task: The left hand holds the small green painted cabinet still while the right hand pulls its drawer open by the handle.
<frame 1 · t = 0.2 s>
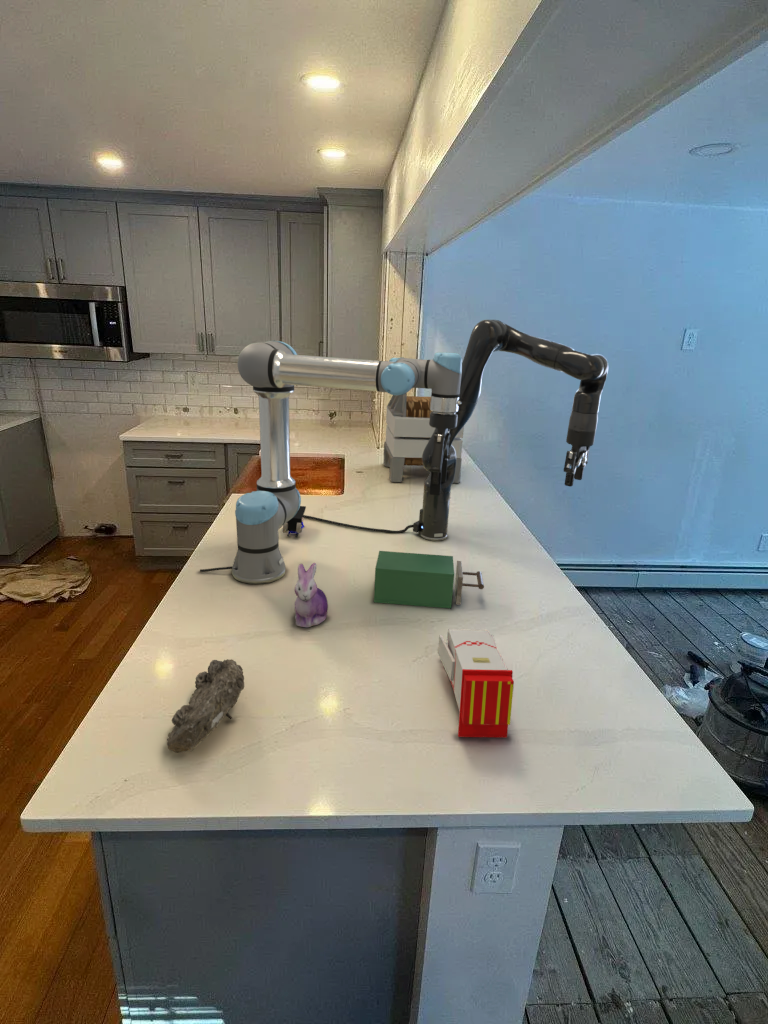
left hand: (438, 487, 160), 28 cm above the counter, tool pointing down, fingers open, 13 cm apart
right hand: (573, 482, 165), 29 cm above the counter, tool pointing down, fingers open, 8 cm apart
toy: (469, 691, 119), on the counter
figurine character: (294, 531, 198), on the counter
figurine: (310, 619, 143), on the counter
drawer: (436, 580, 155), point 5 cm above the counter, slide at 1.2 cm
cabinet: (413, 595, 158), on the counter
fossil: (212, 717, 108), on the counter
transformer: (419, 473, 275), on the counter
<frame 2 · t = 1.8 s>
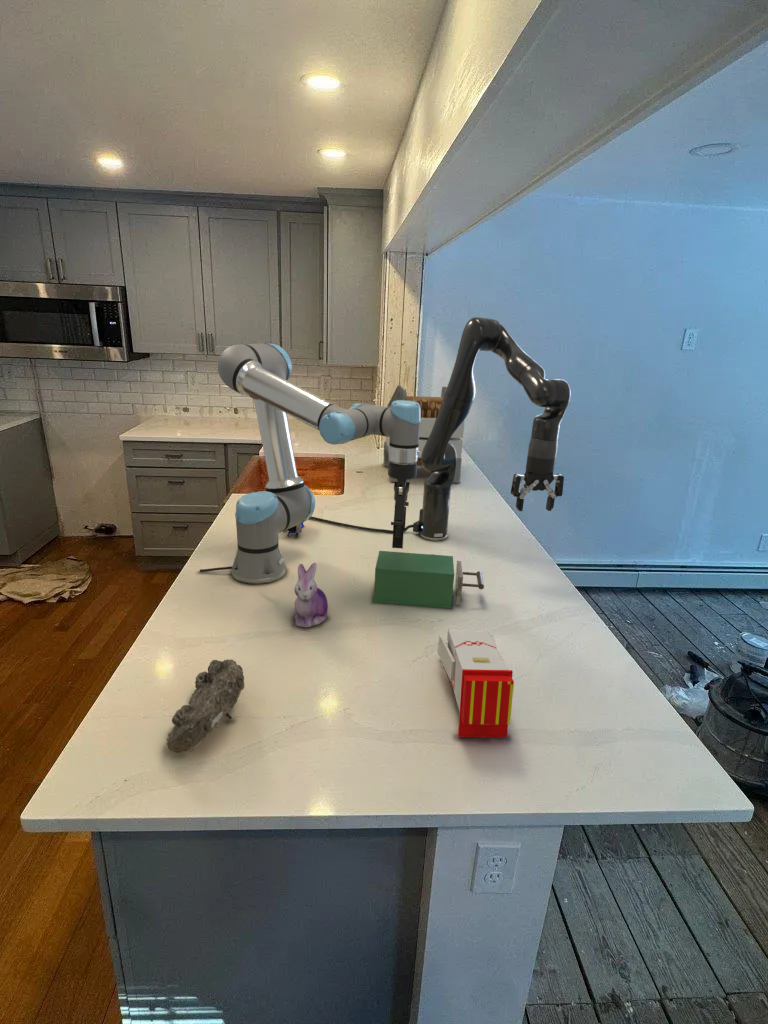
left hand: (398, 537, 154), 16 cm above the counter, tool pointing down, fingers open, 13 cm apart
right hand: (534, 510, 160), 23 cm above the counter, tool pointing down, fingers open, 8 cm apart
nothing on the counter moved.
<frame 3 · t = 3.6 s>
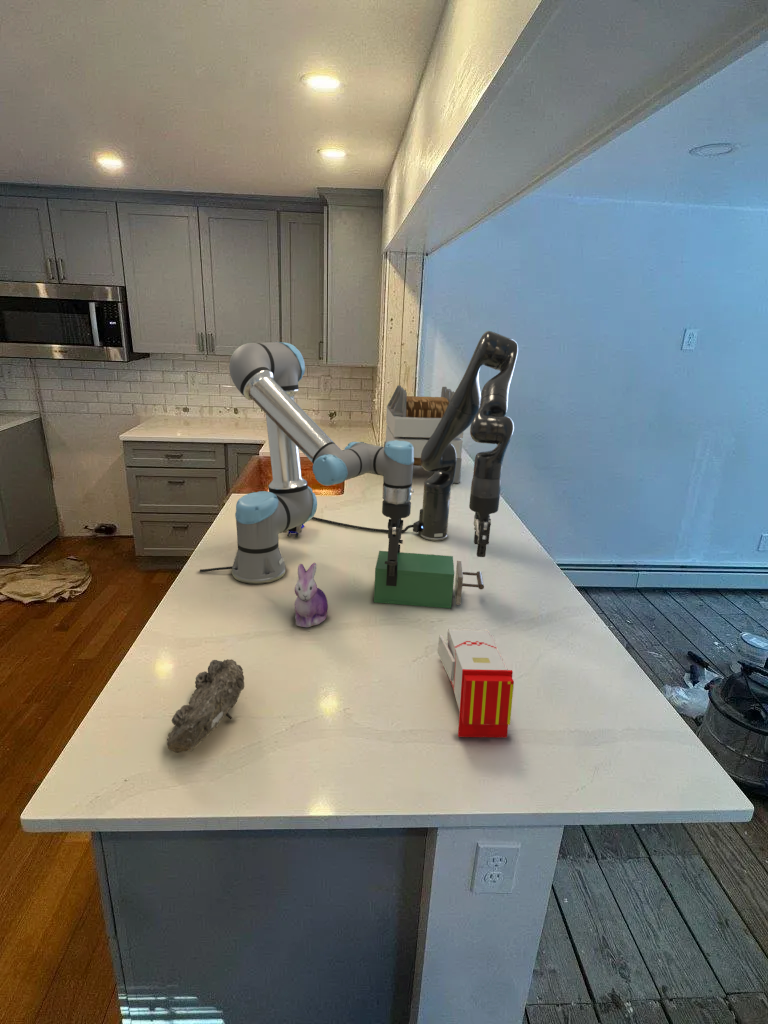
left hand: (392, 575, 156), 6 cm above the counter, tool pointing down, fingers closed on cabinet, 12 cm apart
right hand: (479, 550, 152), 15 cm above the counter, tool pointing down, fingers open, 8 cm apart
cabinet: (413, 595, 158), on the counter, touching left hand
everything else where it was.
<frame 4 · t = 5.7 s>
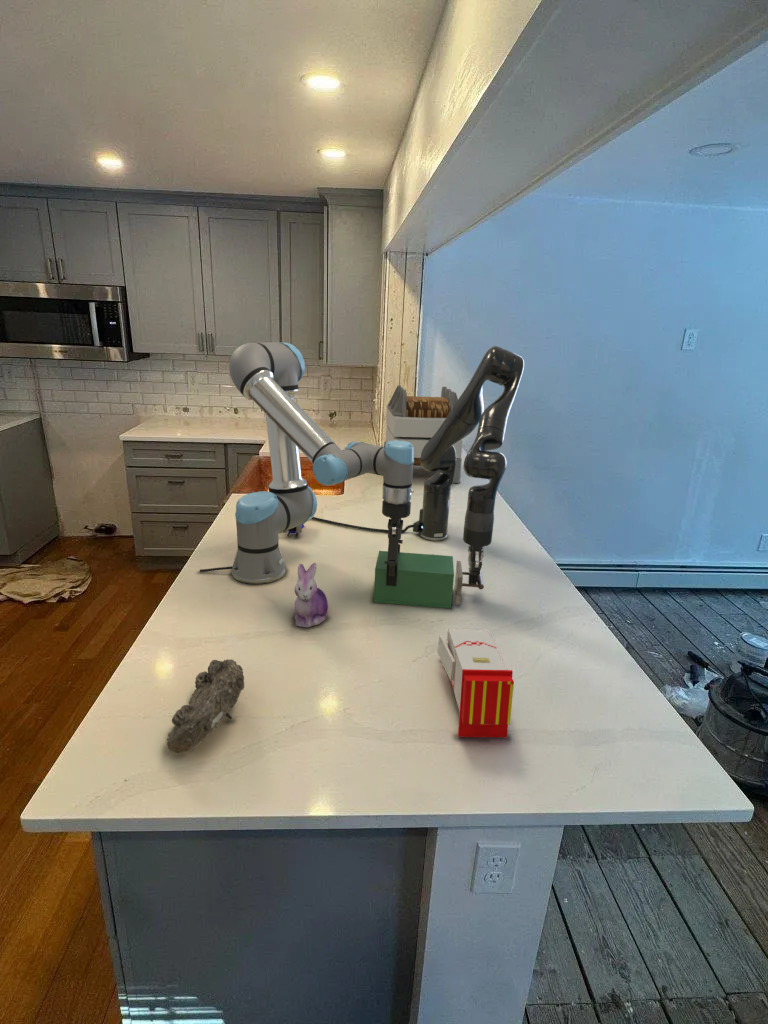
left hand: (392, 575, 156), 6 cm above the counter, tool pointing down, fingers closed on cabinet, 12 cm apart
right hand: (472, 584, 155), 5 cm above the counter, tool pointing down, fingers closed
drawer: (435, 580, 155), point 5 cm above the counter, slide at 1.2 cm, touching right hand
cabinet: (412, 595, 158), on the counter, touching left hand
everything else where it was.
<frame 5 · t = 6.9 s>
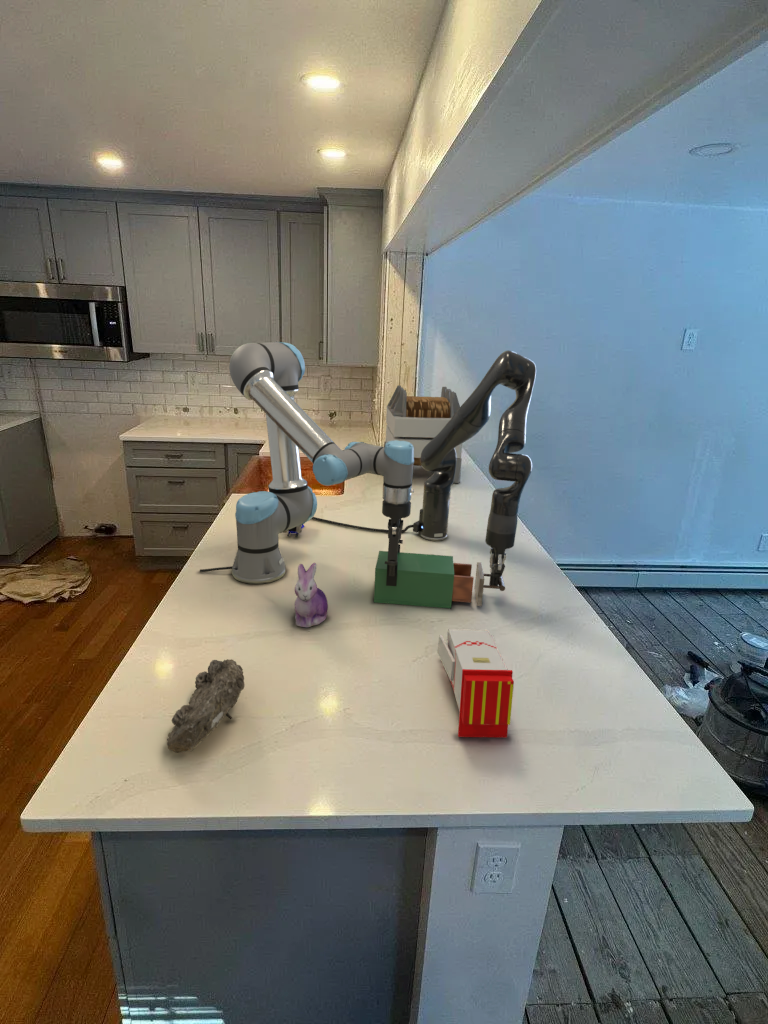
left hand: (392, 575, 156), 6 cm above the counter, tool pointing down, fingers closed on cabinet, 12 cm apart
right hand: (493, 586, 155), 5 cm above the counter, tool pointing down, fingers closed
drawer: (456, 582, 155), point 5 cm above the counter, slide at 6.8 cm, touching right hand
cabinet: (413, 595, 158), on the counter, touching left hand
everything else where it was.
when the left hand's fingers open (6 cm above the counter, at t = 8.7 s): cabinet stays where it is, on the counter.
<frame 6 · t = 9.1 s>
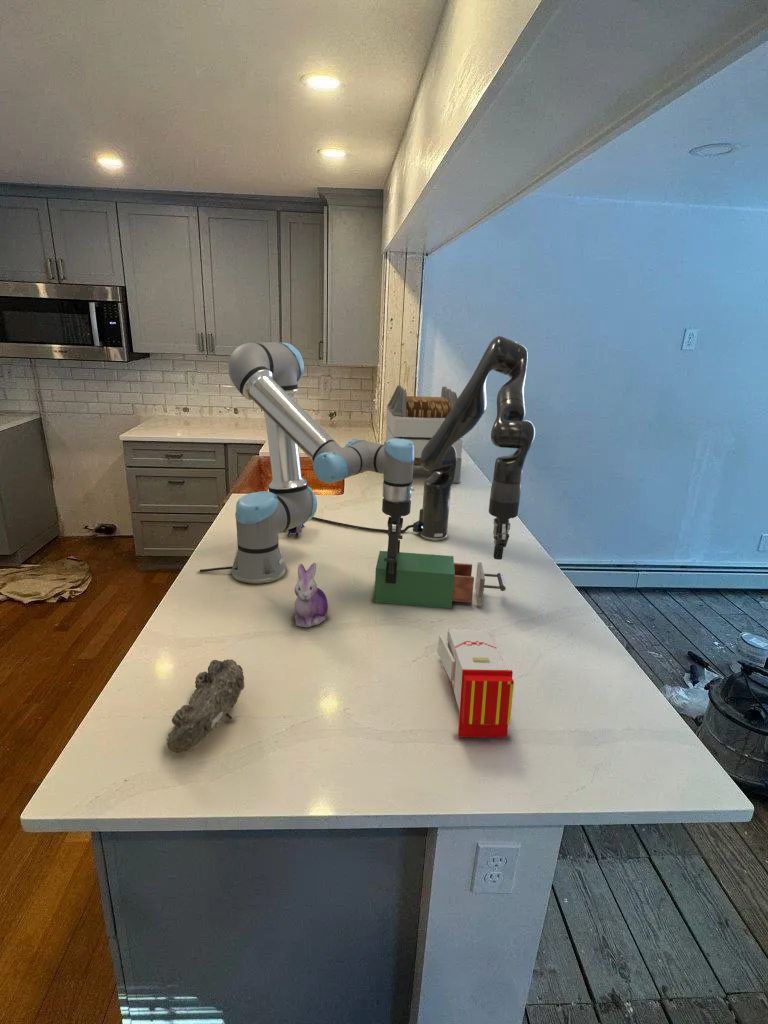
left hand: (392, 571, 156), 7 cm above the counter, tool pointing down, fingers open, 13 cm apart
right hand: (497, 558, 152), 13 cm above the counter, tool pointing down, fingers closed
drawer: (456, 582, 155), point 5 cm above the counter, slide at 6.8 cm
cabinet: (413, 595, 158), on the counter
everything else where it was.
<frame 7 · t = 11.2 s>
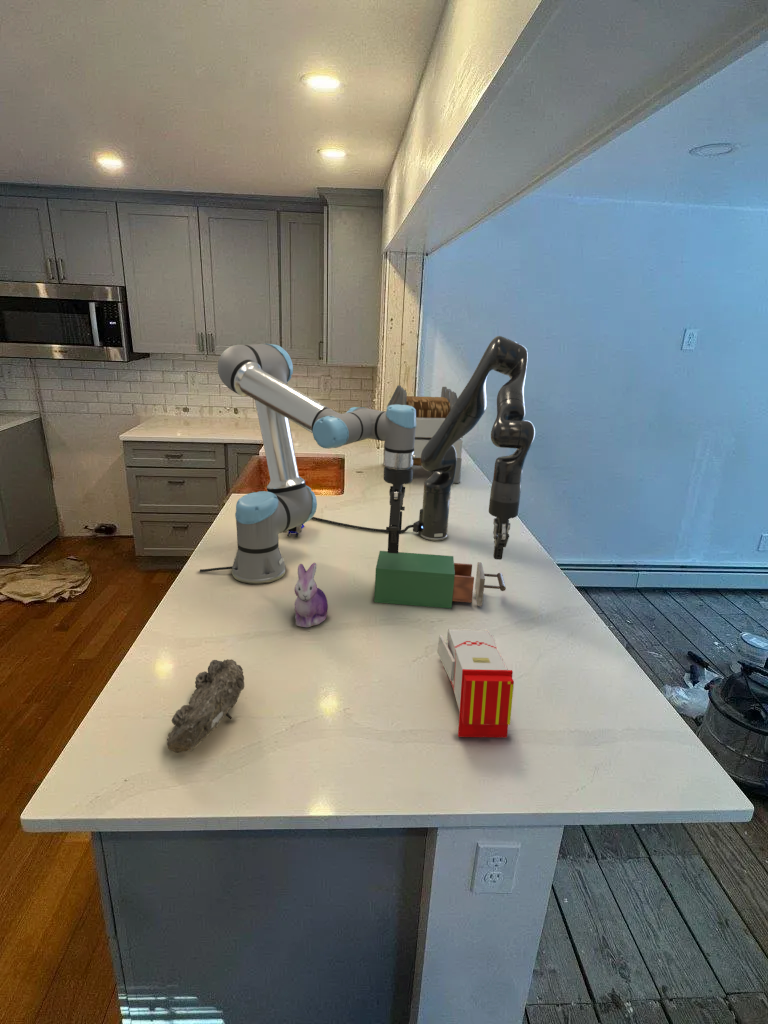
left hand: (394, 542, 153), 15 cm above the counter, tool pointing down, fingers open, 13 cm apart
right hand: (497, 558, 152), 13 cm above the counter, tool pointing down, fingers closed
nothing on the counter moved.
at the end: drawer slide at 6.8 cm; cabinet tilted 0°; cabinet never tilted more than 1° during the clip; cabinet moved 0.1 cm from its start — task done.
